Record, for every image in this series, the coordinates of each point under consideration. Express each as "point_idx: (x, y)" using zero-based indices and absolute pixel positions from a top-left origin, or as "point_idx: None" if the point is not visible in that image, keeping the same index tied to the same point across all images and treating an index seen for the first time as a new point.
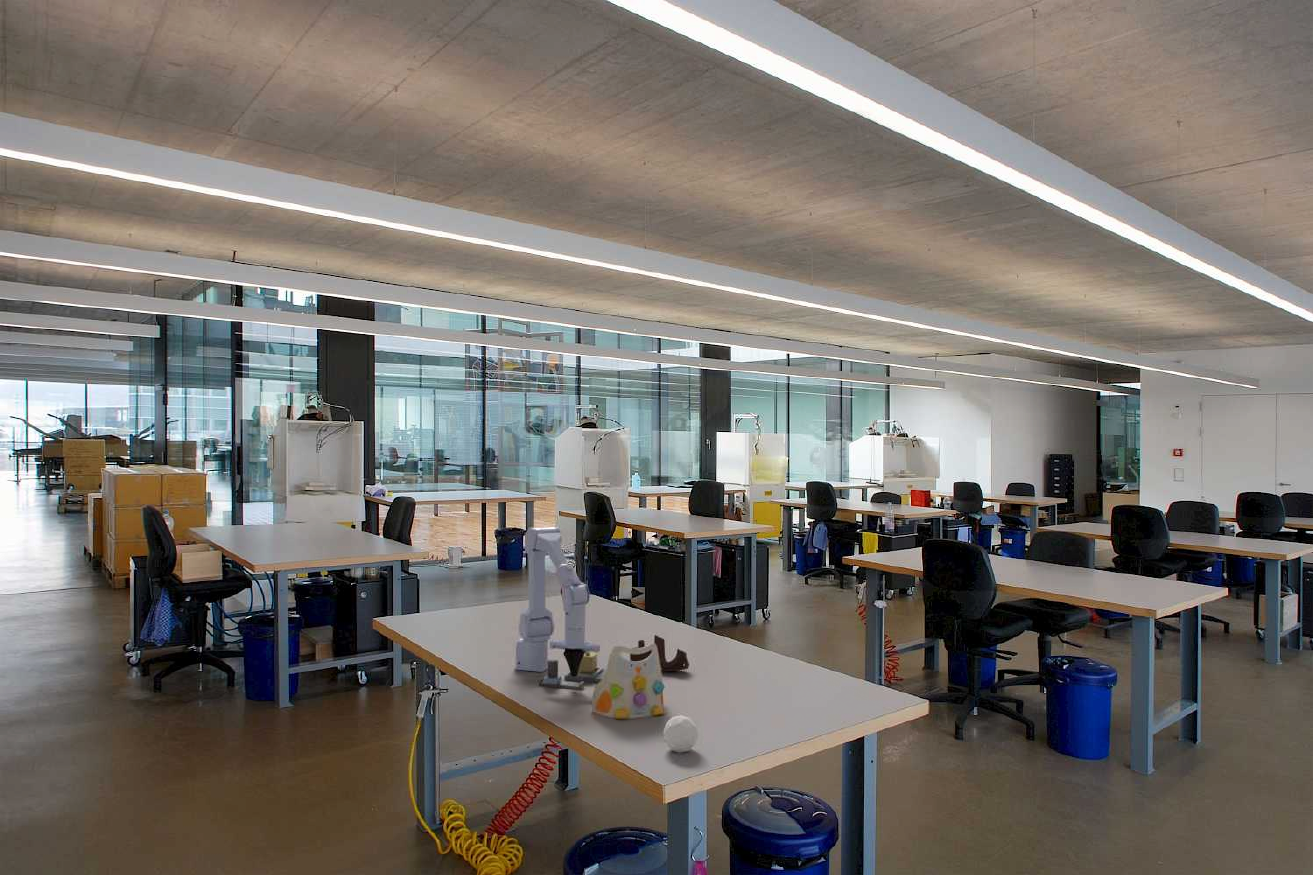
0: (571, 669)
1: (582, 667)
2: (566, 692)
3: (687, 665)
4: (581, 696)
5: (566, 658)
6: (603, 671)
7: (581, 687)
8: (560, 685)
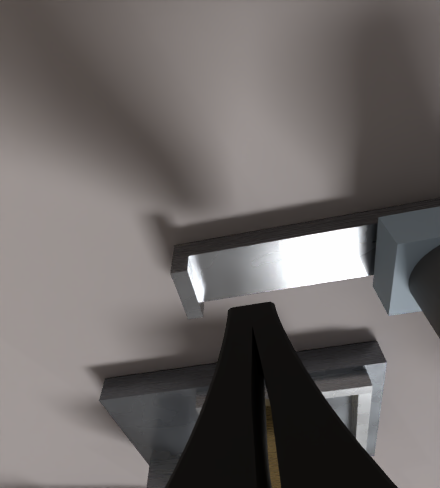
0: (268, 351)
1: None
2: (235, 136)
3: None
4: (46, 102)
5: (371, 483)
6: None
7: (174, 258)
8: (345, 225)
